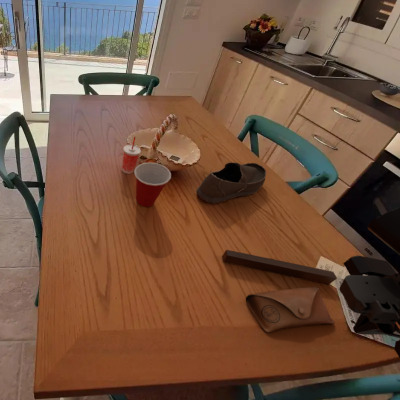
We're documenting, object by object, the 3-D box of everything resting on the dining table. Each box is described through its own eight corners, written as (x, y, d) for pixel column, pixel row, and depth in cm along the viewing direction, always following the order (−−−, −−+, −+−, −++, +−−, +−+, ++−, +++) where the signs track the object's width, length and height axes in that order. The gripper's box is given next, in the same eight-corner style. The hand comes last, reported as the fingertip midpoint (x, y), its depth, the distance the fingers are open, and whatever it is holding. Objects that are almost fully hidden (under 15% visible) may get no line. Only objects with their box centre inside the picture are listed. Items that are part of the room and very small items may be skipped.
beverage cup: (120, 164, 103) (126, 131, 94) (136, 166, 102) (144, 133, 93) (118, 173, 99) (125, 139, 89) (135, 176, 98) (143, 142, 88)
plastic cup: (122, 193, 90) (128, 164, 82) (150, 188, 93) (158, 159, 85) (137, 216, 83) (146, 186, 75) (167, 209, 86) (178, 179, 78)
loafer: (269, 186, 98) (286, 162, 91) (216, 213, 86) (230, 188, 78) (243, 170, 104) (256, 147, 97) (190, 193, 92) (201, 168, 85)
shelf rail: (328, 284, 68) (337, 278, 66) (222, 262, 72) (227, 255, 70) (325, 278, 70) (333, 271, 68) (221, 256, 73) (226, 249, 71)
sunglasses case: (268, 335, 57) (271, 307, 56) (243, 315, 64) (246, 289, 63) (338, 324, 60) (343, 297, 59) (307, 305, 67) (311, 281, 66)
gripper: (344, 225, 45) (289, 276, 55) (422, 340, 31) (331, 378, 42) (420, 239, 43) (349, 289, 54) (537, 366, 30) (411, 399, 40)
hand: (356, 331), depth 47 cm, fingers closed
